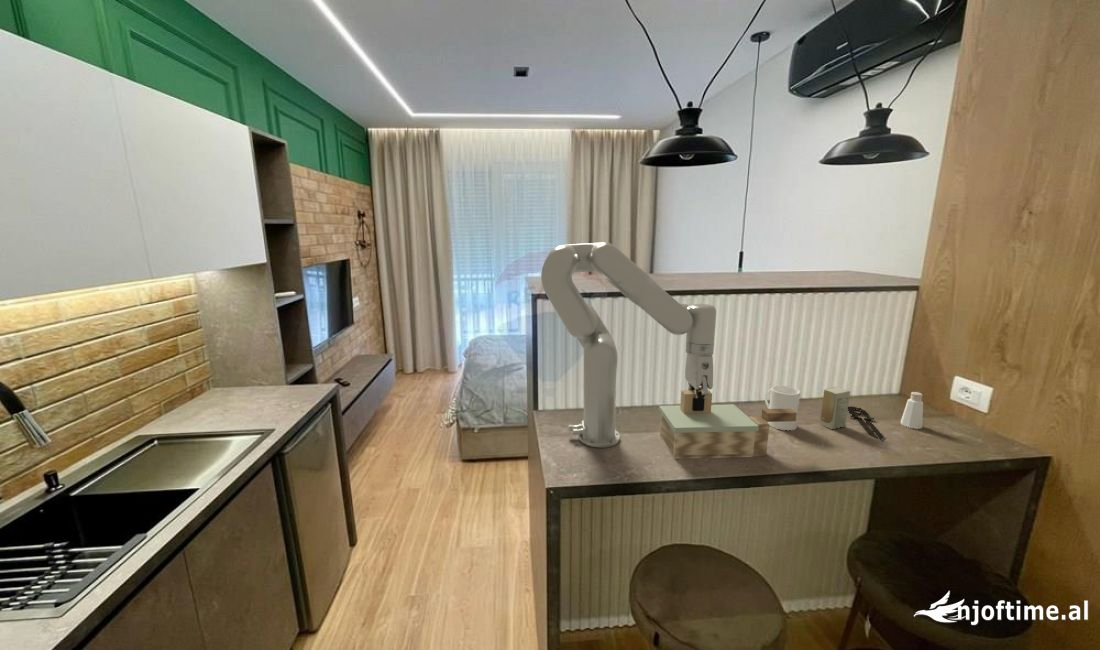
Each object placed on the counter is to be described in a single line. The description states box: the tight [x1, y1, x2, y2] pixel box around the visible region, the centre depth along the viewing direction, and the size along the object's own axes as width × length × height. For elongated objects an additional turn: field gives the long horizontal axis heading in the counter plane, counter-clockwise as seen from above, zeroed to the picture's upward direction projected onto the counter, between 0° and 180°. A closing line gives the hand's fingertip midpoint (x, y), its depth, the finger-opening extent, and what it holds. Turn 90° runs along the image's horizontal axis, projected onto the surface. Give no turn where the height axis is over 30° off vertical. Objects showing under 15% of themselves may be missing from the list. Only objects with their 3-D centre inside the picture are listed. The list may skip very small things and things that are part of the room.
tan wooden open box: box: [659, 413, 770, 460], centre depth 121 cm, size 26×14×10 cm, turn 92°
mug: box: [764, 385, 801, 432], centre depth 136 cm, size 12×8×12 cm
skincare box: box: [819, 386, 851, 430], centre depth 133 cm, size 6×4×12 cm
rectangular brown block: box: [761, 408, 797, 422], centre depth 117 cm, size 8×3×2 cm, turn 92°
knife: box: [848, 405, 886, 441], centre depth 136 cm, size 25×6×1 cm, turn 155°
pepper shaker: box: [900, 391, 924, 430], centre depth 133 cm, size 5×5×11 cm
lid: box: [658, 389, 759, 433], centre depth 120 cm, size 23×15×8 cm, turn 92°
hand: (695, 407), depth 123 cm, fingers closed on lid, 3 cm apart
